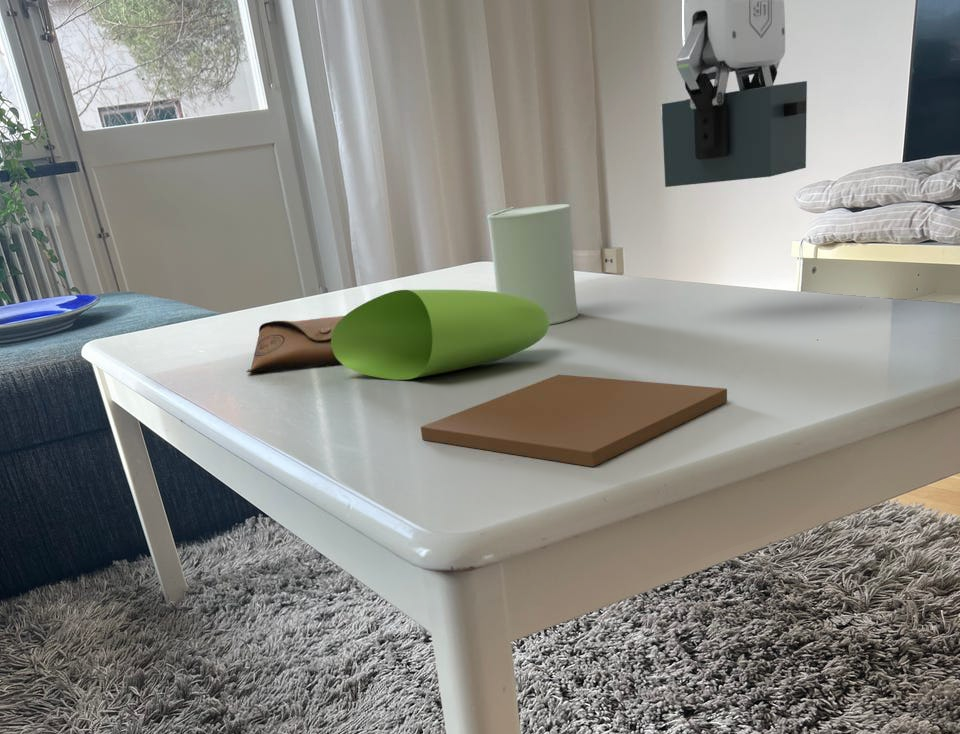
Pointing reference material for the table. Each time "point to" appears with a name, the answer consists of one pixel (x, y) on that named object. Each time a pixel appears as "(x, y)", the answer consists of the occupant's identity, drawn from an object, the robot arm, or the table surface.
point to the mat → (575, 418)
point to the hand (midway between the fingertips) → (733, 151)
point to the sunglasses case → (295, 344)
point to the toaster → (740, 137)
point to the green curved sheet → (435, 332)
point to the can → (535, 257)
